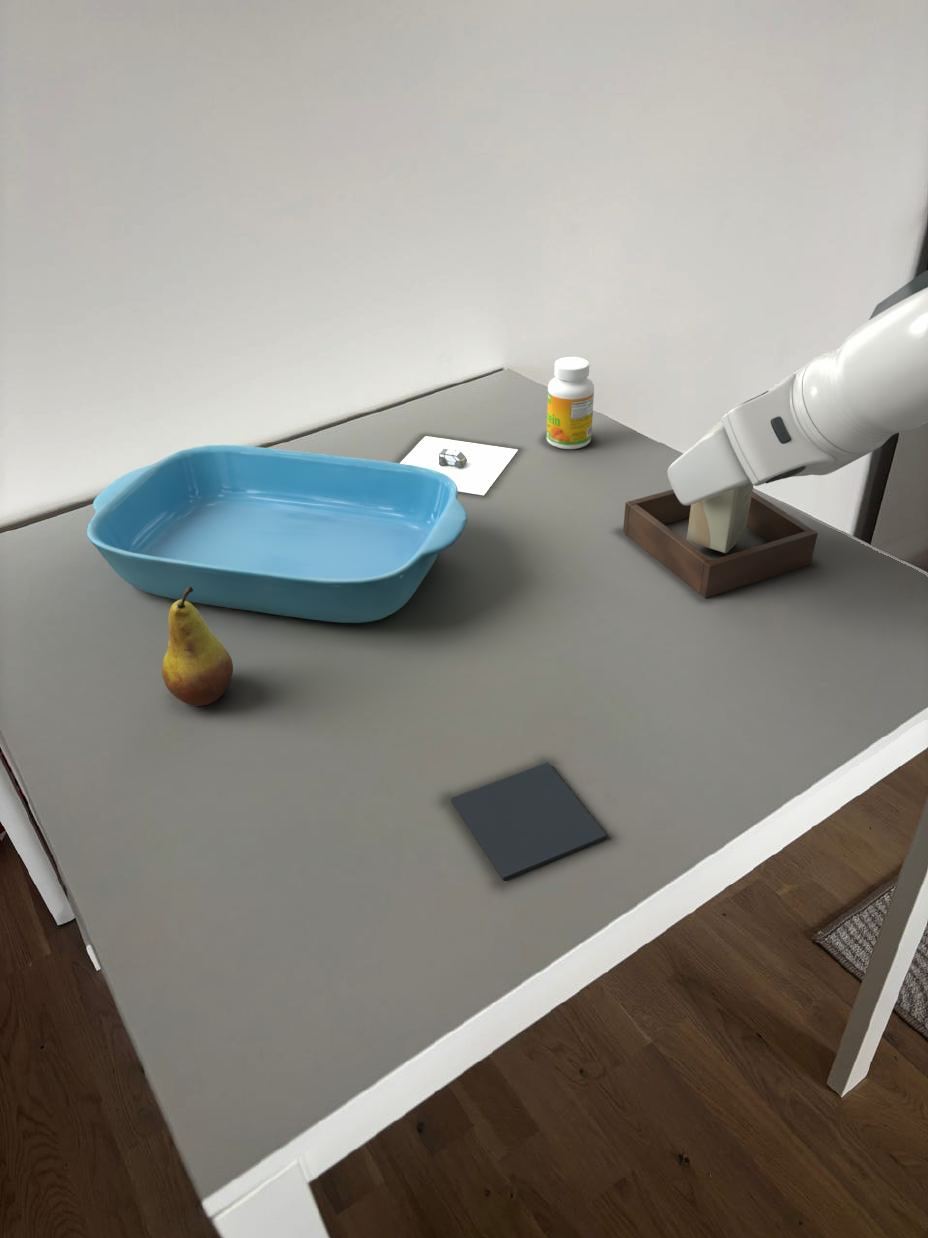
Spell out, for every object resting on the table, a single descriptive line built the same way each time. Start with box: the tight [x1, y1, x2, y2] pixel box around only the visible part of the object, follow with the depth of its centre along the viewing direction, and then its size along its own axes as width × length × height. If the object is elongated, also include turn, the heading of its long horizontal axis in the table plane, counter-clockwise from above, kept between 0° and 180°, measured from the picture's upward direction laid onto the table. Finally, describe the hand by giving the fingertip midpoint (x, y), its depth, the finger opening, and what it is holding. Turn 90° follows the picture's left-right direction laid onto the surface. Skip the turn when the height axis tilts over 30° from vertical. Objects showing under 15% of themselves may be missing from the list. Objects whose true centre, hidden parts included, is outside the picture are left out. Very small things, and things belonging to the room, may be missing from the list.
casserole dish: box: [86, 444, 469, 624], centre depth 93 cm, size 37×22×7 cm, turn 73°
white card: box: [399, 435, 519, 496], centre depth 112 cm, size 12×12×2 cm
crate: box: [622, 488, 818, 599], centre depth 95 cm, size 14×13×4 cm
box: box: [686, 420, 754, 554], centre depth 92 cm, size 5×4×11 cm
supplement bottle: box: [546, 356, 595, 450], centre depth 114 cm, size 5×5×10 cm
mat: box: [450, 761, 608, 881], centre depth 68 cm, size 8×8×1 cm
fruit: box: [161, 586, 234, 707], centre depth 76 cm, size 6×6×12 cm
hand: (718, 480), depth 92 cm, fingers closed on box, 6 cm apart
